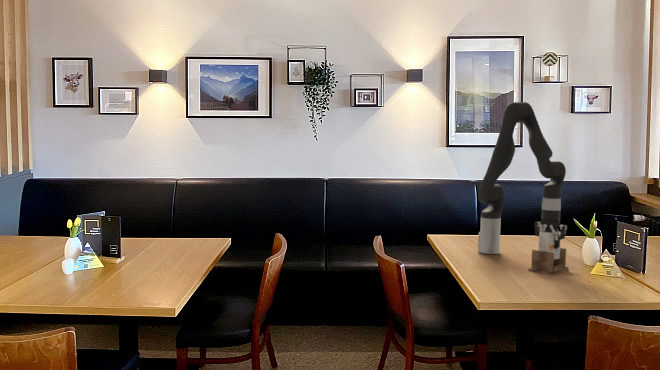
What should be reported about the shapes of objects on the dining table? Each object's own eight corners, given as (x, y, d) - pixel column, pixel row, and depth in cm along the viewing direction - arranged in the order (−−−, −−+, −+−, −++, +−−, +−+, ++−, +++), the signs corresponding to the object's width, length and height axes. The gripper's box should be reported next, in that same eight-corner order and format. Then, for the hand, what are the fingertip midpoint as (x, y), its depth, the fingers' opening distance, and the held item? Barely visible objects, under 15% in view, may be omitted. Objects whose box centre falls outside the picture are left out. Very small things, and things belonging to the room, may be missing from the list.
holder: (528, 270, 256) (529, 249, 255) (543, 264, 266) (544, 244, 265) (553, 275, 248) (554, 254, 247) (568, 269, 259) (569, 248, 258)
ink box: (547, 261, 252) (549, 226, 251) (537, 258, 256) (539, 224, 255) (560, 258, 257) (561, 224, 255) (550, 256, 261) (551, 223, 259)
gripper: (531, 207, 257) (529, 246, 258) (564, 211, 247) (562, 251, 248) (539, 205, 262) (537, 243, 264) (571, 209, 252) (569, 248, 254)
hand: (549, 247), depth 256 cm, fingers closed on ink box, 5 cm apart
